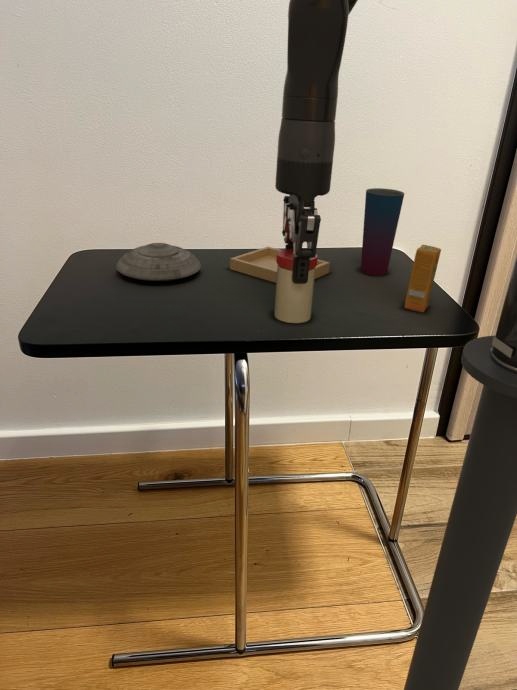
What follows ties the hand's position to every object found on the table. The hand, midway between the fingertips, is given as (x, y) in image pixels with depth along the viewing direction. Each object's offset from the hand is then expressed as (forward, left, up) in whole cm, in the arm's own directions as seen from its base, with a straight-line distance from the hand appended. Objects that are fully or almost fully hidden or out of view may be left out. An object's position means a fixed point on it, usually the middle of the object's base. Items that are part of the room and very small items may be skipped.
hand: (295, 275), depth 80 cm
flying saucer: (+29, +1, -7) cm, 30 cm away
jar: (0, 0, -7) cm, 7 cm away
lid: (0, 0, +3) cm, 3 cm away
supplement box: (-13, -17, -7) cm, 22 cm away
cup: (+1, -29, -7) cm, 30 cm away
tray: (+14, -16, -7) cm, 22 cm away
